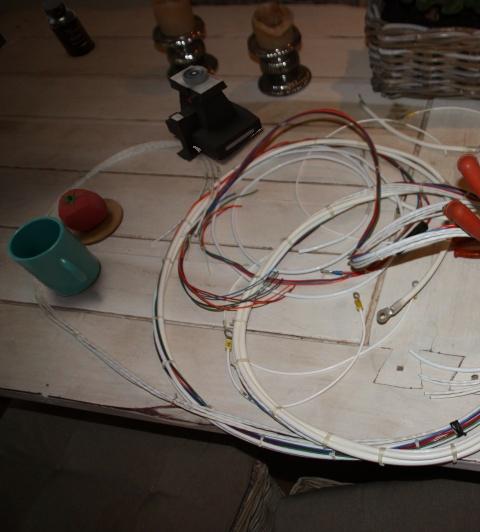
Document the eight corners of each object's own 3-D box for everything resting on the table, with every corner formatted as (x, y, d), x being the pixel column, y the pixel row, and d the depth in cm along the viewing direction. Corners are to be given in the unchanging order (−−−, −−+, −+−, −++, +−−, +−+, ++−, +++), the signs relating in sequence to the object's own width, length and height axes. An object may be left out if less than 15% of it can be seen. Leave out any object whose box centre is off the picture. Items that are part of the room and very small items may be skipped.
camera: (246, 71, 103) (183, 111, 96) (263, 133, 115) (209, 172, 107) (192, 47, 110) (130, 83, 103) (214, 108, 121) (159, 143, 114)
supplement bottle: (62, 52, 138) (31, 7, 128) (83, 37, 141) (55, -7, 131) (78, 59, 135) (47, 14, 125) (99, 45, 138) (71, -1, 128)
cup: (79, 314, 92) (36, 278, 83) (40, 282, 97) (-5, 245, 87) (121, 276, 95) (84, 238, 86) (82, 247, 100) (43, 208, 91)
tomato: (76, 243, 100) (52, 218, 94) (67, 216, 104) (43, 191, 98) (118, 223, 102) (96, 197, 96) (107, 197, 106) (86, 171, 100)
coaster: (55, 244, 101) (53, 242, 101) (80, 199, 107) (78, 197, 107) (110, 245, 100) (108, 243, 99) (131, 200, 106) (130, 198, 105)
